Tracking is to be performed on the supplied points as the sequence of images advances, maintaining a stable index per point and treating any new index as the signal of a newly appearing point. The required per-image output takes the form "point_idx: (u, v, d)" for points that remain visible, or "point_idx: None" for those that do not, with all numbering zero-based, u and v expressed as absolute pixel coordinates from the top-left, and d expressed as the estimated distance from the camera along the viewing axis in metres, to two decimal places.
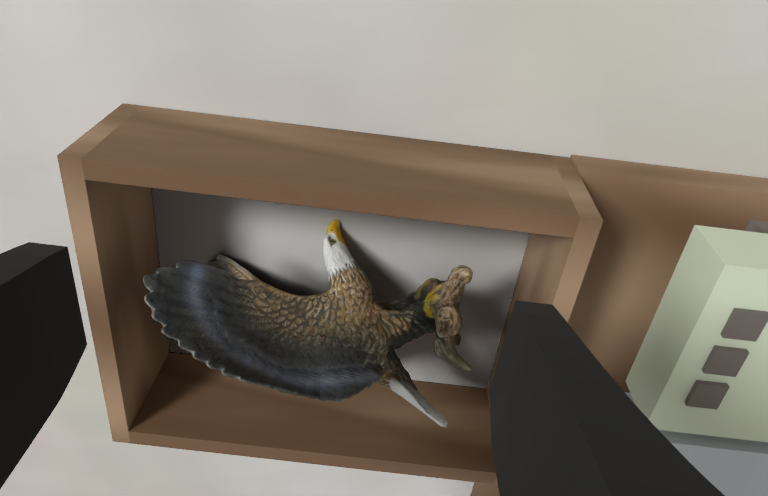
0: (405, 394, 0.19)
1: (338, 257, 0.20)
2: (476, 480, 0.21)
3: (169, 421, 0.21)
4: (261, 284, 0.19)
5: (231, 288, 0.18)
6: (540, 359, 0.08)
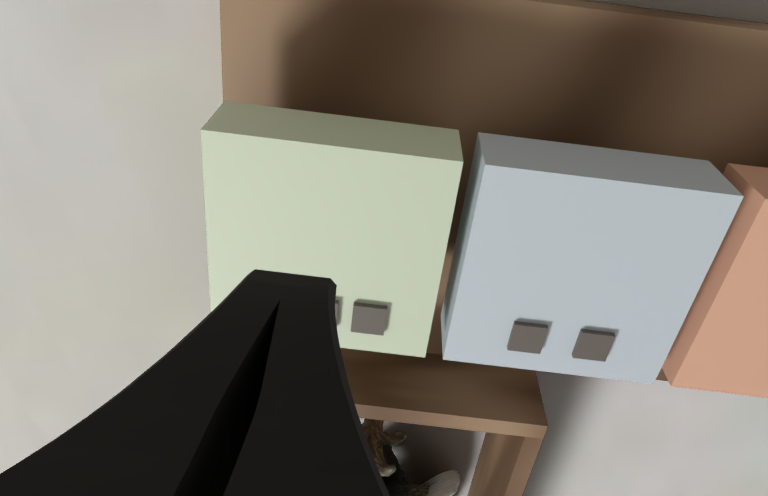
0: None
1: None
2: (535, 451, 0.20)
3: None
4: None
5: None
6: None
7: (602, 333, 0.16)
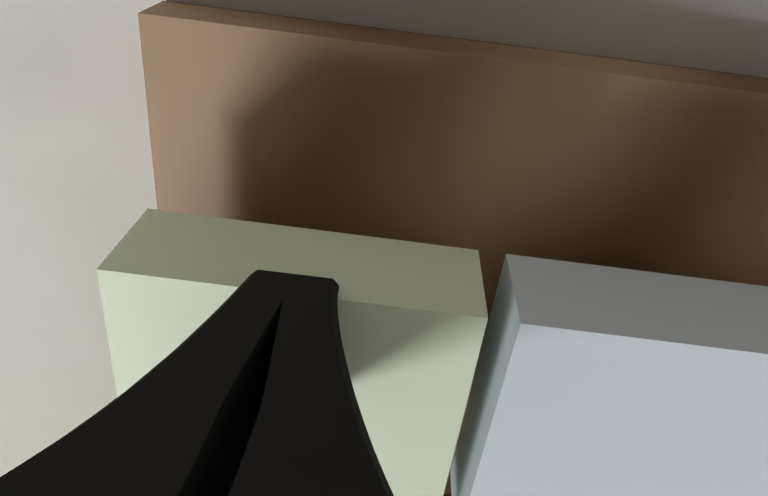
0: None
1: None
2: None
3: None
4: None
5: None
6: None
7: None
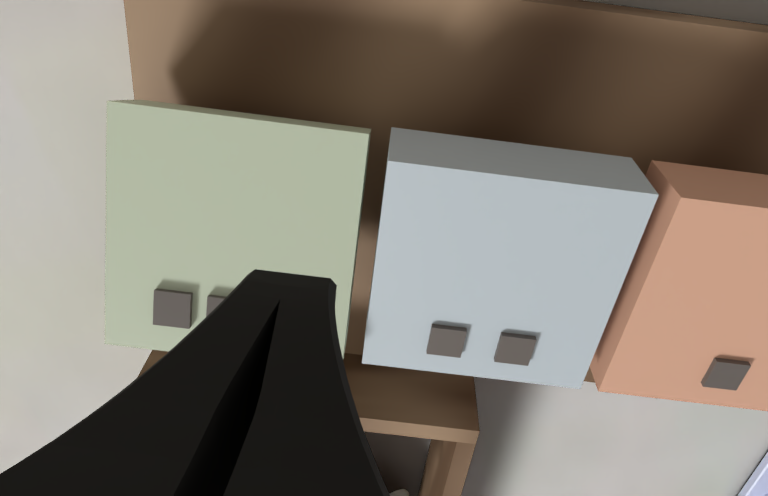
0: None
1: None
2: (469, 457, 0.19)
3: None
4: None
5: None
6: None
7: (523, 336, 0.16)
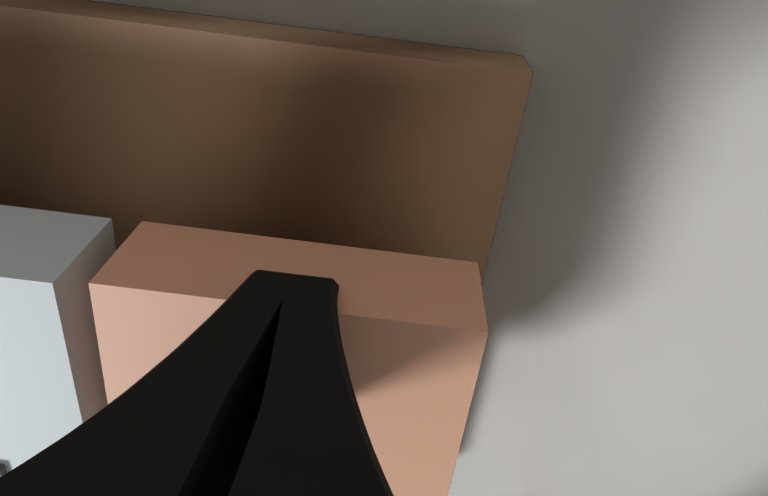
0: None
1: None
2: None
3: None
4: None
5: None
6: None
7: None
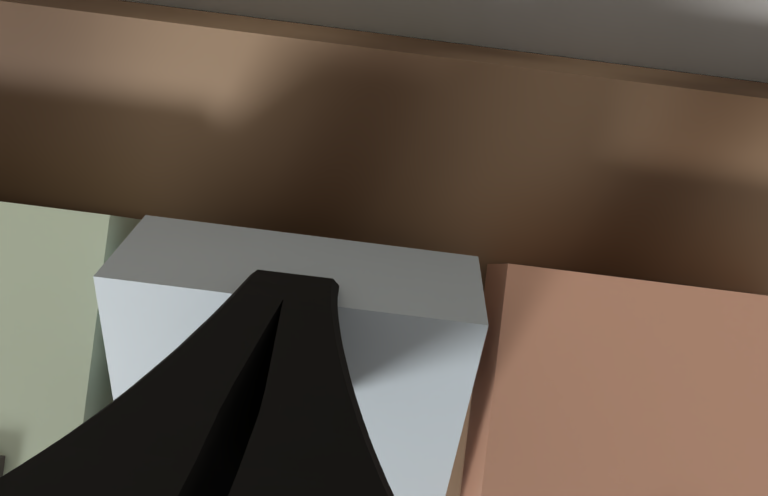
0: None
1: None
2: None
3: None
4: None
5: None
6: None
7: None
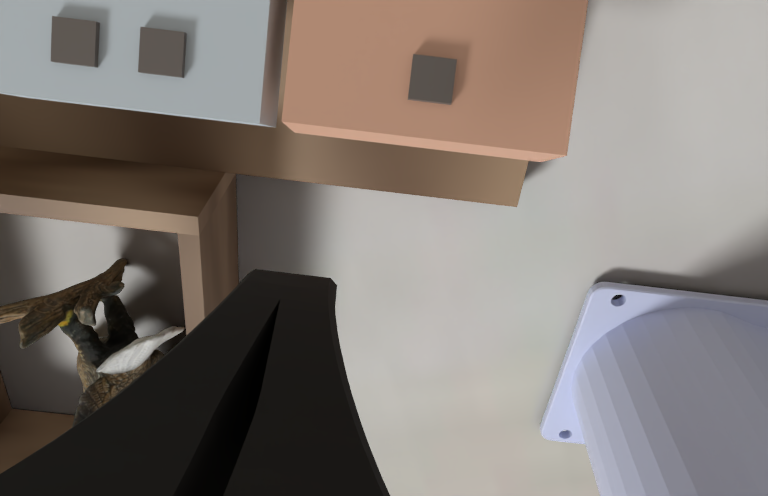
0: (121, 366, 0.19)
1: None
2: (197, 254, 0.17)
3: None
4: None
5: None
6: None
7: (170, 30, 0.12)
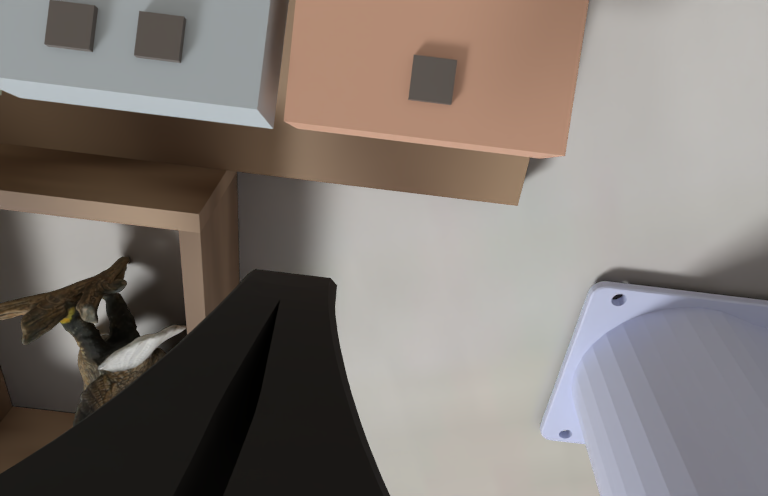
0: (123, 363, 0.19)
1: None
2: (198, 252, 0.17)
3: None
4: None
5: None
6: None
7: (169, 15, 0.12)
